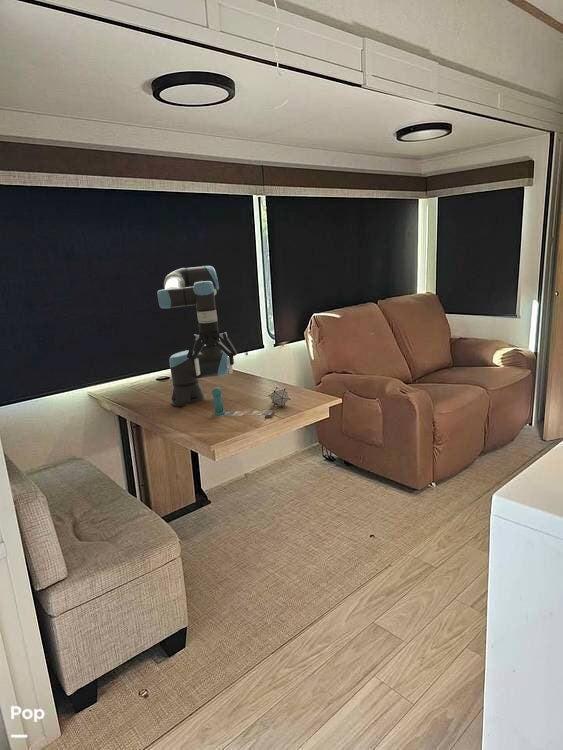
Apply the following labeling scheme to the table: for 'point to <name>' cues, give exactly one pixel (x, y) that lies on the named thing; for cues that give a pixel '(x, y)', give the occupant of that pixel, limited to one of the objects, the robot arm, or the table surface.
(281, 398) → the game die
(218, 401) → the pawn
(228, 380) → the table surface
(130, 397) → the table surface
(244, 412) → the board
